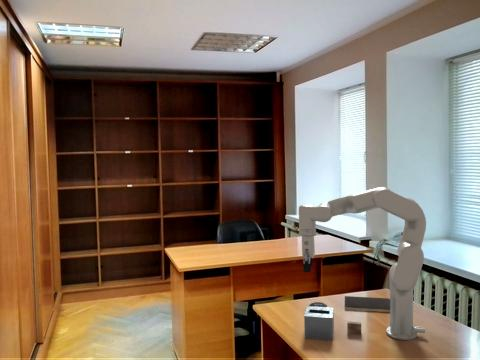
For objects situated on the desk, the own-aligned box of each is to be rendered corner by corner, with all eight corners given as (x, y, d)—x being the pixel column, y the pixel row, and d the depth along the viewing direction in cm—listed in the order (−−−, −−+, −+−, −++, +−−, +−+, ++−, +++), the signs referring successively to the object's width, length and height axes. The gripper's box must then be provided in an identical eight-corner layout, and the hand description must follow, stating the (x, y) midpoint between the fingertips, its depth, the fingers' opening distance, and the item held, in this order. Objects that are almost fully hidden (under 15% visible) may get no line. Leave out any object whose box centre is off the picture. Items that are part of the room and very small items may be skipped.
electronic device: (326, 320, 208) (328, 305, 222) (324, 310, 207) (326, 295, 221) (307, 321, 211) (310, 306, 225) (305, 311, 210) (308, 297, 224)
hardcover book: (392, 313, 211) (392, 309, 211) (344, 310, 217) (344, 306, 217) (389, 302, 227) (389, 298, 227) (344, 299, 232) (344, 295, 232)
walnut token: (361, 333, 189) (361, 322, 189) (361, 335, 188) (361, 324, 187) (347, 332, 191) (347, 321, 191) (347, 334, 189) (347, 323, 189)
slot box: (333, 329, 194) (333, 307, 194) (332, 340, 183) (332, 318, 182) (307, 326, 197) (307, 305, 197) (304, 338, 186) (304, 316, 185)
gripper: (314, 236, 184) (314, 274, 185) (317, 228, 201) (318, 264, 202) (296, 235, 186) (297, 274, 187) (301, 228, 203) (302, 263, 204)
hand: (308, 268), depth 195 cm, fingers open, 9 cm apart
